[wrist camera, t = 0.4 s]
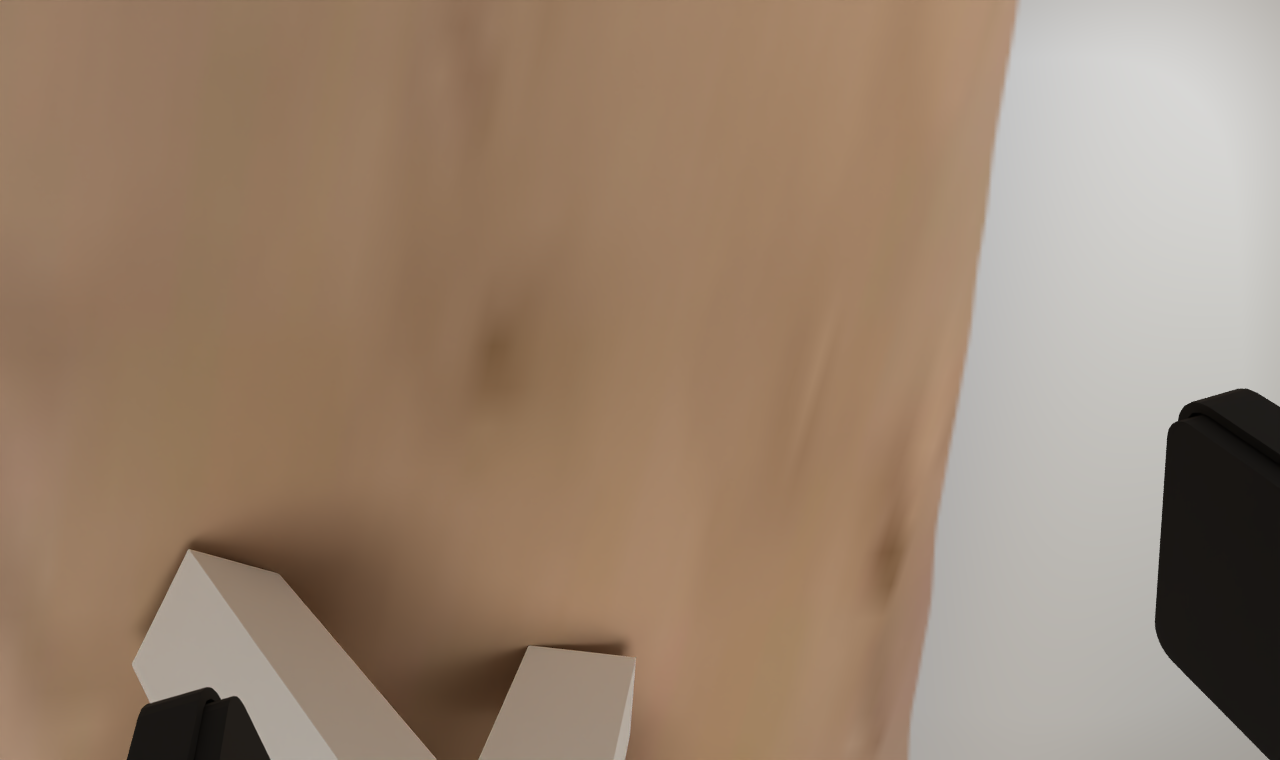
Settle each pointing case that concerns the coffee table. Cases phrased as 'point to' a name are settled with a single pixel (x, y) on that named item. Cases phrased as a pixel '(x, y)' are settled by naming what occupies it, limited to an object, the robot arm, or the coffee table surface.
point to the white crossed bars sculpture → (356, 678)
